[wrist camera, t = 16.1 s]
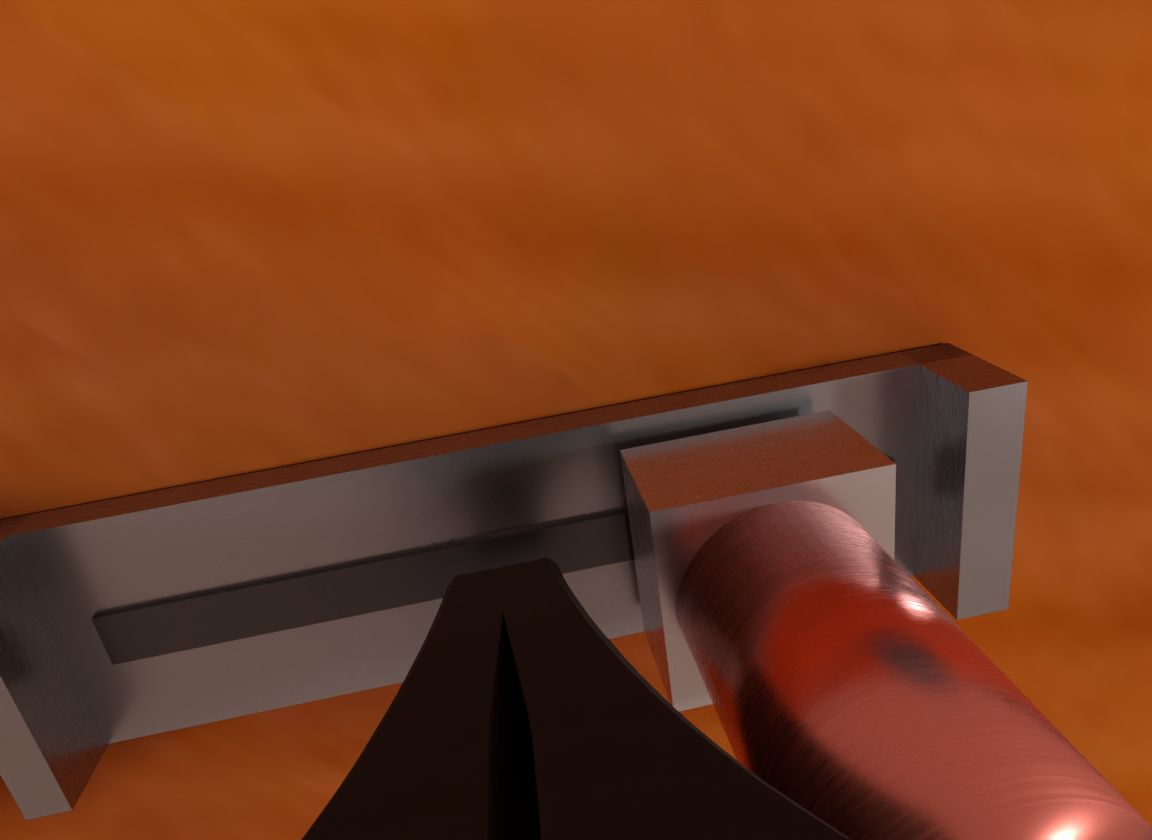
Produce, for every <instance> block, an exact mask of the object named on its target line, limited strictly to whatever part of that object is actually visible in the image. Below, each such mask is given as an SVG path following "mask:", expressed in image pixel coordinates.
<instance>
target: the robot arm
mask: <svg viewBox="0 0 1152 840" xmlns="http://www.w3.org/2000/svg"><path fill="white" fill-rule="evenodd" d="M302 840H851V839H850V838H848V837H847V836H845V835H844V834H842V833H841V832H839V831H838V830H836V829H835V828H833V827H832V826H830V825H829V824H827V823H826V822H824V821H823V820H821V819H820V818H818V817H817V816H815V815H814V814H812V813H811V812H809V811H808V810H806V809H805V808H803V807H802V806H800V805H799V804H797V803H796V802H794V801H793V800H791V799H790V798H788V797H787V796H785V795H784V794H782V793H781V792H779V791H778V790H776V789H775V788H773V787H772V786H770V785H769V784H767V783H766V782H765V781H763V780H762V779H761V778H759V777H758V776H757V775H755V774H754V773H753V772H751V771H750V770H749V769H747V768H746V767H745V766H744V765H742V764H741V763H740V762H738V761H737V760H736V759H734V758H733V757H732V756H731V755H729V754H728V753H727V752H725V751H724V750H723V749H722V748H720V747H719V746H718V745H717V744H716V743H714V742H713V741H712V740H711V739H710V738H708V737H707V736H706V735H705V734H704V733H702V732H701V731H700V730H699V729H698V728H696V727H695V726H694V725H693V724H692V723H691V722H690V721H688V720H687V719H686V718H685V717H684V716H683V715H682V714H681V713H679V712H678V711H677V710H676V709H675V708H674V707H673V706H672V705H671V704H670V703H669V702H668V701H667V700H666V699H664V698H663V697H662V696H661V695H660V694H659V693H658V692H657V691H656V690H655V689H654V688H653V687H652V686H651V685H650V684H649V683H648V682H647V681H646V680H645V679H644V678H643V677H642V676H641V675H640V674H639V673H638V672H637V670H636V669H635V668H634V667H633V666H632V665H631V664H630V663H629V662H628V661H627V660H626V659H625V658H624V656H623V655H622V654H621V653H620V652H619V651H618V649H617V648H616V647H615V646H614V645H613V644H612V642H611V641H610V640H609V639H608V638H607V637H606V635H605V634H604V633H603V632H602V631H601V630H600V628H599V627H598V626H597V625H596V623H595V622H594V621H593V620H592V618H591V617H590V616H589V615H588V613H587V612H586V610H585V609H584V608H583V606H582V605H581V603H580V602H579V601H578V599H577V598H576V596H575V595H574V593H573V592H572V590H571V589H570V587H569V586H568V584H567V582H566V581H565V579H564V577H563V575H562V573H561V571H560V569H559V566H558V564H557V563H555V562H554V561H552V560H551V559H549V558H543V559H538V560H533V561H528V562H523V563H518V564H513V565H508V566H503V567H498V568H494V569H489V570H484V571H479V572H474V573H469V574H464V575H459V576H455V577H454V579H453V580H452V581H451V583H450V584H449V585H448V587H447V590H446V593H445V595H444V598H443V600H442V603H441V605H440V607H439V610H438V612H437V614H436V617H435V619H434V621H433V623H432V626H431V628H430V630H429V632H428V634H427V636H426V638H425V641H424V643H423V645H422V647H421V649H420V651H419V653H418V655H417V657H416V659H415V661H414V662H413V664H412V666H411V668H410V670H409V672H408V674H407V676H406V678H405V680H404V682H403V684H402V685H401V687H400V689H399V691H398V693H397V695H396V697H395V698H394V700H393V702H392V704H391V705H390V707H389V709H388V710H387V712H386V714H385V715H384V717H383V719H382V720H381V722H380V724H379V725H378V727H377V729H376V730H375V732H374V734H373V735H372V737H371V739H370V740H369V742H368V744H367V745H366V747H365V749H364V750H363V752H362V753H361V755H360V757H359V758H358V760H357V761H356V763H355V765H354V766H353V768H352V769H351V771H350V772H349V774H348V775H347V777H346V778H345V780H344V781H343V783H342V784H341V786H340V787H339V788H338V790H337V791H336V793H335V794H334V796H333V797H332V798H331V800H330V801H329V803H328V804H327V806H326V807H325V808H324V810H323V811H322V812H321V814H320V815H319V817H318V818H317V819H316V821H315V822H314V823H313V825H312V826H311V827H310V829H309V830H308V832H307V833H306V834H305V836H304V837H303V838H302Z"/></svg>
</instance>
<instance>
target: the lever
mask: <svg viewBox="0 0 1152 840" xmlns="http://www.w3.org/2000/svg"><path fill="white" fill-rule="evenodd" d="M620 456H621V463H622V471H623V478H624V486H625V493H626V501H627V508H628V516H629V523H630V531H631V538H632V546H633V553H634V561H635V568H636V576H637V583H638V591H639V598H640V605H641V613H642V620H643V628H644V631H645V634H646V636H647V639H648V642H649V645H650V648H651V650H652V653H653V656H654V659H655V662H656V664H657V667H658V670H659V673H660V675H661V678H662V681H663V684H664V687H665V689H666V692H667V695H668V698H669V700H670V703H671V705H672V706H673V707H674V708H675V709H676V710H677V711H683V710H687V709H692V708H696V707H701V706H706V705H710V704H713V705H714V707H715V710H716V712H717V714H718V717H719V719H720V721H721V724H722V726H723V728H724V731H725V733H726V735H727V738H728V740H729V742H730V744H731V747H732V749H733V751H734V754H735V756H736V758H737V761H738V762H740V763H741V764H742V765H744V766H745V767H746V768H747V769H749V770H750V771H751V772H753V773H754V774H755V775H757V776H758V777H759V778H761V779H762V780H763V781H765V782H766V783H767V784H769V785H770V786H772V787H773V788H775V789H776V790H778V791H779V792H781V793H782V794H784V795H785V796H787V797H788V798H790V799H791V800H793V801H794V802H796V803H797V804H799V805H800V806H802V807H803V808H805V809H806V810H808V811H809V812H811V813H812V814H814V815H815V816H817V817H818V818H820V819H821V820H823V821H824V822H826V823H827V824H829V825H830V826H832V827H833V828H835V829H836V830H838V831H839V832H841V833H842V834H844V835H845V836H847V837H848V838H850V839H851V840H1152V826H1151V825H1150V824H1149V823H1148V822H1147V821H1146V820H1145V819H1144V818H1143V817H1142V816H1141V815H1140V814H1139V813H1138V812H1137V811H1136V810H1135V809H1134V808H1133V807H1132V806H1131V805H1130V804H1129V803H1128V802H1127V801H1126V800H1125V799H1124V797H1123V796H1122V795H1121V794H1120V793H1119V792H1118V791H1117V790H1116V789H1115V788H1114V787H1113V786H1112V785H1111V784H1110V783H1109V782H1108V781H1107V780H1106V779H1105V778H1104V777H1103V776H1102V775H1101V774H1100V773H1099V772H1098V771H1097V770H1096V768H1095V767H1094V766H1093V765H1092V764H1091V763H1090V762H1089V761H1088V760H1087V759H1086V758H1085V757H1084V756H1083V755H1082V754H1081V753H1080V752H1079V751H1078V750H1077V749H1076V748H1075V747H1074V746H1073V745H1072V744H1071V743H1070V742H1069V741H1068V740H1067V738H1066V737H1065V736H1064V735H1063V734H1062V733H1061V732H1060V731H1059V730H1058V729H1057V728H1056V727H1055V726H1054V725H1053V724H1052V723H1051V722H1050V721H1049V720H1048V719H1047V718H1046V717H1045V716H1044V715H1043V714H1042V713H1041V712H1040V711H1039V709H1038V708H1037V707H1036V706H1035V705H1034V704H1033V703H1032V702H1031V701H1030V700H1029V699H1028V698H1027V697H1026V696H1025V695H1024V694H1023V693H1022V692H1021V691H1020V690H1019V689H1018V688H1017V687H1016V686H1015V685H1014V684H1013V683H1012V682H1011V681H1010V679H1009V678H1008V677H1007V676H1006V675H1005V674H1004V673H1003V672H1002V671H1001V670H1000V669H999V668H998V667H997V666H996V665H995V664H994V663H993V662H992V661H991V660H990V659H989V658H988V657H987V656H986V655H985V654H984V653H983V652H982V650H981V649H980V648H979V647H978V646H977V645H976V644H975V643H974V642H973V641H972V640H971V639H970V638H969V637H968V636H967V635H966V634H965V633H964V632H963V631H962V630H961V629H960V628H959V627H958V626H957V625H956V624H955V623H954V621H953V620H952V619H951V618H950V617H949V616H948V615H947V614H946V613H945V612H944V611H943V610H942V609H941V608H940V607H939V606H938V605H937V604H936V603H935V602H934V601H933V600H932V599H931V598H930V597H929V596H928V595H927V594H926V593H925V591H924V590H923V589H922V588H921V587H920V586H919V585H918V584H917V583H916V582H915V581H914V580H913V579H912V578H911V577H910V576H909V575H908V574H907V573H906V572H905V571H904V570H903V569H902V568H901V567H900V566H899V565H898V564H897V562H896V561H895V560H894V551H895V492H896V463H894V462H893V461H892V460H891V459H889V458H888V457H887V456H886V455H884V454H883V453H882V452H881V451H879V450H878V449H877V448H876V447H875V446H873V445H872V444H871V443H870V442H868V441H867V440H866V439H865V438H863V437H862V436H861V435H860V434H859V433H857V432H856V431H855V430H854V429H852V428H851V427H850V426H849V425H847V424H846V423H845V422H844V421H843V420H841V419H840V418H839V417H838V416H836V415H835V414H834V413H833V412H831V411H830V410H827V411H822V412H817V413H811V414H806V415H801V416H796V417H790V418H785V419H780V420H775V421H770V422H764V423H759V424H754V425H749V426H743V427H738V428H733V429H728V430H723V431H717V432H712V433H707V434H702V435H696V436H691V437H686V438H681V439H675V440H670V441H665V442H660V443H655V444H649V445H644V446H639V447H634V448H628V449H623V450H620Z"/></svg>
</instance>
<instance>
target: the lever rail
mask: <svg viewBox="0 0 1152 840" xmlns="http://www.w3.org/2000/svg"><path fill="white" fill-rule="evenodd" d="M1027 383H1028V381H1026V380H1024V379H1022V378H1020V377H1018V376H1016V375H1014V374H1012V373H1009V372H1007V371H1005V370H1003V369H1001V368H999V367H997V366H995V365H993V364H991V363H989V362H987V361H984V360H982V359H980V358H978V357H976V356H974V355H972V354H970V353H968V352H966V351H964V350H962V349H959V348H957V347H955V346H953V345H951V344H949V343H945V344H939V345H934V346H929V347H923V348H918V349H913V350H907V351H902V352H897V353H891V354H886V355H880V356H875V357H870V358H864V359H859V360H854V361H848V362H843V363H838V364H832V365H827V366H822V367H816V368H811V369H806V370H800V371H795V372H789V373H784V374H779V375H773V376H768V377H763V378H757V379H752V380H747V381H741V382H736V383H731V384H725V385H720V386H714V387H709V388H704V389H698V390H693V391H688V392H682V393H677V394H672V395H666V396H661V397H656V398H650V399H645V400H640V401H634V402H629V403H623V404H618V405H613V406H607V407H602V408H597V409H591V410H586V411H581V412H575V413H570V414H565V415H559V416H554V417H549V418H543V419H538V420H532V421H527V422H522V423H516V424H511V425H506V426H500V427H495V428H490V429H484V430H479V431H474V432H468V433H463V434H457V435H452V436H447V437H441V438H436V439H431V440H425V441H420V442H415V443H409V444H404V445H399V446H393V447H388V448H383V449H377V450H372V451H366V452H361V453H356V454H350V455H345V456H340V457H334V458H329V459H324V460H318V461H313V462H308V463H302V464H297V465H291V466H286V467H281V468H275V469H270V470H265V471H259V472H254V473H249V474H243V475H238V476H233V477H227V478H222V479H217V480H211V481H206V482H200V483H195V484H190V485H184V486H179V487H174V488H168V489H163V490H158V491H152V492H147V493H142V494H136V495H131V496H125V497H120V498H115V499H109V500H104V501H99V502H93V503H88V504H83V505H77V506H72V507H67V508H61V509H56V510H51V511H45V512H40V513H34V514H29V515H24V516H18V517H13V518H8V519H2V520H0V775H1V777H2V779H3V781H4V782H5V784H6V786H7V788H8V789H9V791H10V793H11V794H12V796H13V798H14V800H15V801H16V803H17V805H18V807H19V808H20V810H21V812H22V814H23V815H24V817H25V819H26V820H30V819H34V818H39V817H43V816H48V815H53V814H57V813H62V812H67V811H71V810H73V808H74V806H75V805H76V803H77V801H78V799H79V797H80V795H81V794H82V792H83V790H84V788H85V786H86V784H87V783H88V781H89V779H90V777H91V775H92V773H93V772H94V770H95V768H96V766H97V764H98V762H99V761H100V759H101V757H102V755H103V753H104V751H105V750H106V748H107V746H108V744H110V743H115V742H119V741H124V740H129V739H134V738H139V737H143V736H148V735H153V734H158V733H162V732H167V731H172V730H177V729H181V728H186V727H191V726H196V725H201V724H205V723H210V722H215V721H220V720H224V719H229V718H234V717H239V716H243V715H248V714H253V713H258V712H262V711H267V710H272V709H277V708H282V707H286V706H291V705H296V704H301V703H305V702H310V701H315V700H320V699H324V698H329V697H334V696H339V695H344V694H348V693H353V692H358V691H363V690H367V689H372V688H377V687H382V686H386V685H391V684H396V683H401V682H404V680H405V678H406V676H407V674H408V672H409V670H410V668H411V666H412V664H413V662H414V661H415V659H416V657H417V655H418V653H419V651H420V649H421V647H422V645H423V643H424V641H425V638H426V636H427V634H428V632H429V630H430V628H431V626H432V623H433V621H434V619H435V617H436V614H437V612H438V610H439V607H440V605H441V603H442V600H443V598H444V595H445V593H446V590H447V587H448V585H449V584H450V583H451V581H452V580H453V579H454V577H455V576H459V575H464V574H469V573H474V572H479V571H484V570H489V569H494V568H498V567H503V566H508V565H513V564H518V563H523V562H528V561H533V560H538V559H543V558H549V559H551V560H552V561H554V562H555V563H557V564H558V566H559V569H560V571H561V573H562V575H563V577H564V579H565V581H566V582H567V584H568V586H569V587H570V589H571V590H572V592H573V593H574V595H575V596H576V598H577V599H578V601H579V602H580V603H581V605H582V606H583V608H584V609H585V610H586V612H587V613H588V615H589V616H590V617H591V618H592V620H593V621H594V622H595V623H596V625H597V626H598V627H599V628H600V630H601V631H602V632H603V633H604V634H605V635H606V637H607V638H608V639H611V638H615V637H620V636H625V635H630V634H634V633H639V632H644V628H643V620H642V613H641V605H640V598H639V591H638V583H637V576H636V568H635V561H634V553H633V546H632V538H631V531H630V523H629V516H628V508H627V501H626V493H625V486H624V478H623V471H622V463H621V456H620V450H623V449H628V448H634V447H639V446H644V445H649V444H655V443H660V442H665V441H670V440H675V439H681V438H686V437H691V436H696V435H702V434H707V433H712V432H717V431H723V430H728V429H733V428H738V427H743V426H749V425H754V424H759V423H764V422H770V421H775V420H780V419H785V418H790V417H796V416H801V415H806V414H811V413H817V412H822V411H827V410H830V411H831V412H833V413H834V414H835V415H836V416H838V417H839V418H840V419H841V420H843V421H844V422H845V423H846V424H847V425H849V426H850V427H851V428H852V429H854V430H855V431H856V432H857V433H859V434H860V435H861V436H862V437H863V438H865V439H866V440H867V441H868V442H870V443H871V444H872V445H873V446H875V447H876V448H877V449H878V450H879V451H881V452H882V453H883V454H884V455H886V456H887V457H888V458H889V459H891V460H892V461H893V462H894V463H896V492H895V551H894V560H895V561H896V562H897V564H898V565H899V566H900V567H901V568H902V569H903V570H904V571H905V572H906V573H907V574H908V575H909V576H911V575H914V576H915V577H916V578H917V579H918V580H919V581H920V582H921V584H922V585H923V586H924V587H925V588H926V589H927V590H928V591H929V592H930V593H931V594H932V595H933V596H934V597H935V598H936V599H937V600H938V601H939V602H940V603H941V604H942V605H943V606H944V607H945V608H946V609H947V610H948V611H949V612H950V613H951V614H952V615H953V616H954V617H955V618H956V619H957V620H959V619H963V618H968V617H973V616H977V615H982V614H986V613H991V612H996V611H1000V610H1005V609H1008V605H1009V594H1010V582H1011V570H1012V558H1013V547H1014V535H1015V523H1016V512H1017V500H1018V488H1019V476H1020V465H1021V453H1022V441H1023V430H1024V418H1025V406H1026V394H1027Z"/></svg>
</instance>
